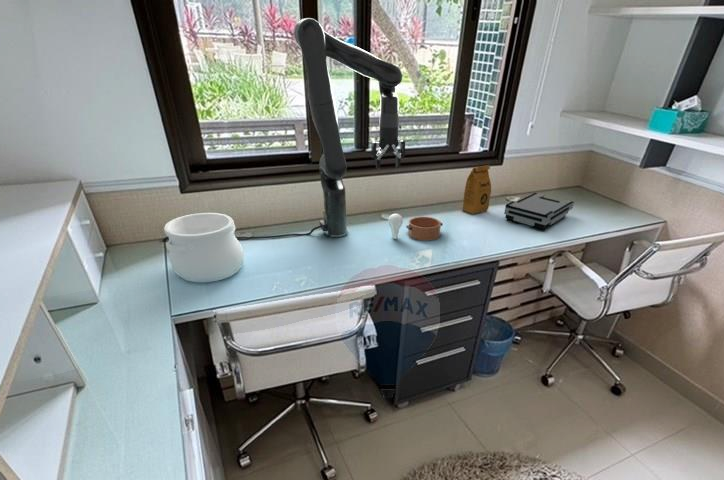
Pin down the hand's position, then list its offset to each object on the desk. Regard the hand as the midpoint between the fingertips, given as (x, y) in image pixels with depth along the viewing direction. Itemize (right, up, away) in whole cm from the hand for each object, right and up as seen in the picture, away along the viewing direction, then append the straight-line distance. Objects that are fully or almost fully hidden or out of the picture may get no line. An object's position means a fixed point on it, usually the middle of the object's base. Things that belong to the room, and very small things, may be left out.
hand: (387, 168), depth 169 cm
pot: (-65, -46, -21) cm, 82 cm away
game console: (+74, -13, +31) cm, 81 cm away
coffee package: (+45, -7, +37) cm, 59 cm away
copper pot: (+16, -25, +11) cm, 32 cm away
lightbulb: (+3, -28, +6) cm, 29 cm away
